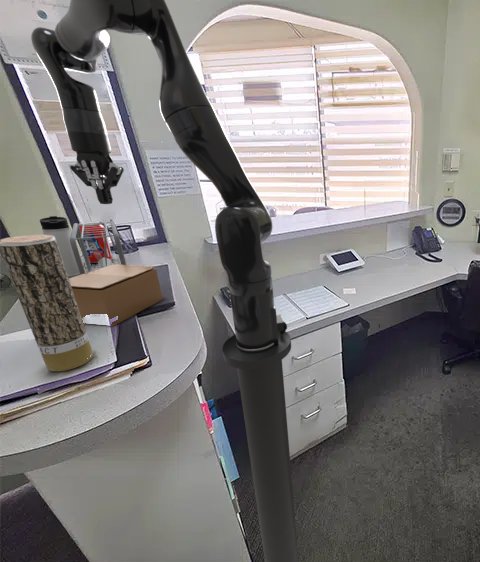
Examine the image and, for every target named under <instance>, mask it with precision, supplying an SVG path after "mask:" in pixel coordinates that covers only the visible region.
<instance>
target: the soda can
mask: <svg viewBox="0 0 480 562" xmlns="http://www.w3.org/2000/svg"><path fill="white" fill-rule="evenodd" d="M88 223H101V222H100V221H91V222H81V223H79V224H88ZM102 225H103V224H91V225H84V231H85V230H86V229H85V228H90V229H87V230H90V231H88V232H91V233H89V234H88V235H90V234H94V235H90V236H88V235H86V234H87V233H85V232H87V231H85V232H84V233H85V234H84V233H83V235H84V236H85V235H86V236H85V237H87V236H88V237H95V236H104V234H103V233H104V232H100V231H104V228H100V227H104V226H102ZM82 226H83V225H79V228H80V231H81V234H82ZM87 226H91V227H87ZM99 229H103V230H99ZM84 236H83V238H84ZM106 236H107V234H106ZM108 238H109V237H106V248H107V258H108V259H110V260H111V261H112V260H113V254H112V250H111V249H112V248H111V247H110V243H109V239H108ZM89 239H91V238H89ZM89 239H88V240H89ZM88 240H86V239H83V241H84V244H85V248H86V251H87V254H88V258H89V261H90V264H98V260H99V259H101V258H105V245H104V237H100V238H92V239H91V240H90V241H92V240H93V241H92V242H94V243H93V244H95V245H96V247H97V248H96V247H94V248H96V249H98V250H97V251H99V252H100V254H101V255H100V254H98V253H99V252H97V251H95V250H96V249H94V248H92V247H93V246H95V245H93V244H91V243H92V242H90V241H88ZM87 241H88V242H87ZM89 242H90V243H89ZM88 243H89V244H91V245H93V246H92V247H90V246H91V245H90V246H89V244H88ZM91 248H92V249H91ZM93 249H94V250H93ZM92 250H93V251H95V252H97V253H96V254H98V255H100V256H99V257H101V256H102V257H101V258H99V257H97V256H98V255H96V254H95V255H96V256H95V255H94V253H95V252H94V253H93V251H92ZM96 257H97V258H99V259H98V260H97V258H96Z"/></svg>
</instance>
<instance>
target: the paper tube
mask: <svg viewBox="0 0 480 562" xmlns="http://www.w3.org/2000/svg"><path fill="white" fill-rule="evenodd" d="M0 255H1V257H2V260H3V263H4V266H5V268H6V270H7V273H8V275H9V278H10V280H11V282H12V286H13V288H14V290H15V292H16V295H17V297H18V301H19V303H20V305H21V307H22V309H23V313H24V315H25V317H26V320H27V322H28V325H29V328H30V330H31V332H32V335H33V337H34V341H35V342H36V344H37V347H38V350H39V352H40V354H41V357H42V359H43V362H44V364H45V367H46V368H47V370H49V371H52V372H66V371H69V370H73V369H75V368H79V367H81V366H83V365H86V364H87V363H88V362H90V361H91V360H92V358H93V357H94V351H93V348H92V345H91V342H90V338H89V335H88V332H87V329H86V327H85V325H84V323H83V320H82V317H81V314H80V311H79V308H78V305H77V302H76V299H75V296H74V293H73V290H72V287H71V284H70V281H69V278H68V275H67V272H66V269H65V266H64V263H63V260H62V257H61V254H60V251H59V248H58V245H57V242H56V239H55V238H54V235H44V234H27V235H18V236H10V237H5V238H1V239H0ZM92 352H93V354H92ZM91 354H92V355H91ZM90 355H91V357H90ZM87 358H88V359H87Z"/></svg>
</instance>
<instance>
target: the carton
mask: <svg viewBox="0 0 480 562" xmlns="http://www.w3.org/2000/svg"><path fill="white" fill-rule="evenodd" d="M87 273H88V272H85V273H84V274H81V275H78V276H75V277H72V278H69V281H70V284H71V287H72V290H73V293H74V296H75V299H76V302H77V305H78V308H79V311H80V314H81V317H82V318H83V317H85V316H86V315H90V314H107V315H108V317H109V319H112V318H114V317H116V316H118V320H116V321H114V322H112V324H111V328H112V327H114V326H116V325H118V324H120V323H122V322H124V321H125V320H127V319H130V318H131V317H133V316H135V315H138V313H140V312H142V311H144V310H146V309H148V308H149V307H151V306H153V305H156V304H157V303H159V302H161V301H163V300H164V298H163V293H162V288H161V284H160V280H159V276H158V271H157V269H156V268H153V269H151V270H149V271H146V272H144V273H142V274H139V275H137V276H134V277H132V278H131V277H130V276H117V275H102V274H87Z"/></svg>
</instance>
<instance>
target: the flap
mask: <svg viewBox="0 0 480 562" xmlns="http://www.w3.org/2000/svg"><path fill="white" fill-rule="evenodd" d="M151 269H156V266H151V265H136V264H135V265H134V264H126V265H121V263H112V265H109V266H106V267H103V268H101V269H95V270H92V272H89V273H88V272H86V273H87V274H102V275H117V276H130V277H131V278H132V277H134V276H137V275H139V274H142V273H144V272H146V271H149V270H151Z"/></svg>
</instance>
